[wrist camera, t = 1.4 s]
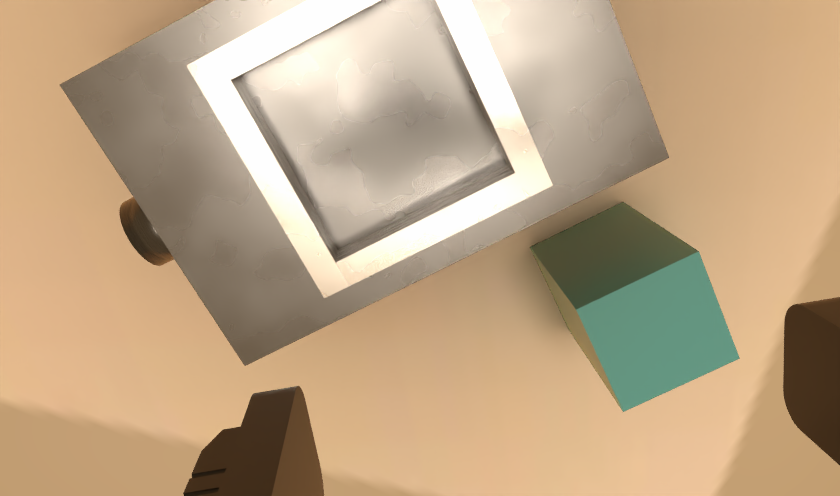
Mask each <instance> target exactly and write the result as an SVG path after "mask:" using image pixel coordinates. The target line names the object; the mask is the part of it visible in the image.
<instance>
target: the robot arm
mask: <svg viewBox="0 0 840 496" xmlns="http://www.w3.org/2000/svg"><path fill="white" fill-rule="evenodd" d="M783 388H784V390H783V391H784V399H785V403H786V406H787V409H788V412H789V414H790V416H791V418H792V420H793V421H794V423H795V424H796V426H797V427H798V428H799V429H800V430H801V431H802V432H803V433H804V434H806V435H807V436H808V437H809V438H810V439H811V440H812V441H813V442H814V443H816V444H817V445H818V446H819V447H820V448H821V449H822V450H823V451H824V452H825V453H827V454H828V455H829V456H830V457H831V458H832V459H833V460H834V461H836V462H837V463H838V464H839V465H840V297H837V298H832V299H825V300H820V301H813V302H807V303H801V304H795V305H792V306H791V307H790V308H789V309H788V311H787V313H786V316H785V326H784V385H783ZM183 494H184V496H324V490H323V480H322V473H321V468H320V463H319V459H318V454H317V450H316V446H315V441H314V437H313V432H312V428H311V424H310V419H309V415H308V410H307V406H306V402H305V398H304V394H303V392H302V389H301V388H300V387H299V386H296V387H290V388H284V389H278V390H272V391H266V392H260V393H254V394H253V395H252V397H251V399H250V402H249V405H248V408H247V411H246V413H245V416H244V419H243V422H242V425H241V427H236V428H230V429H224V430H222V431H221V432H220V433H219V434H218V435H217V436H216V437H215V438H214V439H213V440H212V441H211V442H210V443H209V444H208V445H207V446H206V447H205V448H204V449H203V450H202V451H201V454H200V456H199V458H198V461H197V463H196V465H195V468H194V470H193V472H192V478H191V479H189V482H188V484H187V486H186V489H185V491H184V493H183Z"/></svg>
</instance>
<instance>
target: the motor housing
mask: <svg viewBox="0 0 840 496" xmlns="http://www.w3.org/2000/svg"><path fill="white" fill-rule="evenodd" d="M60 86H61V87H62V89H63V91H64V92H65V94H66V95H67V97H68V98H69V100H70V101H71V103H72V104H73V106H74V107H75V109H76V110H77V112H78V113H79V115H80V116H81V118H82V119H83V121H84V122H85V124H86V125H87V127H88V128H89V130H90V132H91V133H92V135H93V136H94V138H95V139H96V141H97V142H98V144H99V145H100V147H101V148H102V150H103V151H104V153H105V154H106V156H107V157H108V159H109V160H110V162H111V163H112V165H113V166H114V168H115V169H116V171H117V173H118V174H119V176H120V177H121V179H122V180H123V182H124V183H125V185H126V186H127V188H128V189H129V191H130V192H131V194H132V195H133V198H131V199H129V200H127V201H125V202H124V203H122V205H121V207H120V219H121V223H122V226H123V229H124V231H125V233H126V235H127V237H128V239H129V241H130V242H131V244H132V245H133V247H134V248H135V249H136V250H137V252H138V253H139V254H140V255H141V256H142V257H143V258H144V259H146V260H147V261H148V262H150V263H152V264H154V265H158V266H161V265H163V264H165V263H167V262H169V261H171V260H173V259H175V261H176V262H177V264H178V265H179V267H180V268H181V270H182V271H183V273H184V274H185V276H186V277H187V279H188V280H189V282H190V283H191V285H192V286H193V288H194V289H195V291H196V292H197V294H198V296H199V297H200V299H201V300H202V302H203V303H204V305H205V306H206V308H207V309H208V311H209V312H210V314H211V315H212V317H213V318H214V320H215V321H216V323H217V324H218V326H219V327H220V329H221V330H222V332H223V333H224V335H225V337H226V338H227V340H228V341H229V343H230V344H231V346H232V347H233V349H234V350H235V352H236V353H237V355H238V356H239V358H240V359H241V361H242V362H243V364H244V365H245V366H246V365H248V364H250V363H252V362H254V361H256V360H258V359H260V358H262V357H264V356H266V355H268V354H270V353H272V352H274V351H276V350H278V349H280V348H282V347H284V346H287V345H289V344H291V343H293V342H295V341H297V340H299V339H301V338H303V337H305V336H307V335H309V334H311V333H313V332H315V331H317V330H319V329H321V328H323V327H325V326H327V325H329V324H331V323H333V322H335V321H337V320H339V319H342V318H344V317H346V316H348V315H350V314H352V313H354V312H356V311H358V310H360V309H362V308H364V307H366V306H368V305H370V304H372V303H374V302H376V301H378V300H380V299H382V298H384V297H386V296H388V295H390V294H392V293H394V292H397V291H399V290H401V289H403V288H405V287H407V286H409V285H411V284H413V283H415V282H417V281H419V280H421V279H423V278H425V277H427V276H429V275H431V274H433V273H435V272H437V271H439V270H441V269H443V268H445V267H447V266H449V265H452V264H454V263H456V262H458V261H460V260H462V259H464V258H466V257H468V256H470V255H472V254H474V253H476V252H478V251H480V250H482V249H484V248H486V247H488V246H490V245H492V244H494V243H496V242H498V241H500V240H502V239H504V238H506V237H509V236H511V235H513V234H515V233H517V232H519V231H521V230H523V229H525V228H527V227H529V226H531V225H533V224H535V223H537V222H539V221H541V220H543V219H545V218H547V217H549V216H551V215H553V214H555V213H557V212H559V211H561V210H564V209H566V208H568V207H570V206H572V205H574V204H576V203H578V202H580V201H582V200H584V199H586V198H588V197H590V196H592V195H594V194H596V193H598V192H600V191H602V190H604V189H606V188H608V187H610V186H612V185H614V184H616V183H619V182H621V181H623V180H625V179H627V178H629V177H631V176H633V175H635V174H637V173H639V172H641V171H643V170H645V169H647V168H649V167H651V166H653V165H655V164H657V163H659V162H661V161H663V160H665V159H667V158H669V156H668V153H667V151H666V148H665V146H664V143H663V140H662V138H661V135H660V132H659V130H658V127H657V124H656V122H655V119H654V116H653V114H652V111H651V109H650V106H649V103H648V101H647V98H646V95H645V93H644V90H643V87H642V85H641V82H640V80H639V77H638V74H637V72H636V69H635V66H634V64H633V61H632V58H631V56H630V53H629V50H628V48H627V45H626V43H625V40H624V37H623V35H622V32H621V29H620V27H619V24H618V21H617V19H616V16H615V14H614V11H613V8H612V6H611V3H610V0H214V1H212V2H211V3H209V4H207V5H205V6H203V7H201V8H200V9H198V10H196V11H194V12H192V13H190V14H189V15H187V16H185V17H183V18H181V19H179V20H178V21H176V22H174V23H172V24H170V25H168V26H167V27H165V28H163V29H161V30H159V31H157V32H156V33H154V34H152V35H150V36H148V37H146V38H145V39H143V40H141V41H139V42H137V43H135V44H134V45H132V46H130V47H128V48H126V49H124V50H123V51H121V52H119V53H117V54H115V55H113V56H112V57H110V58H108V59H106V60H104V61H102V62H101V63H99V64H97V65H95V66H93V67H91V68H90V69H88V70H86V71H84V72H82V73H80V74H78V75H77V76H75V77H73V78H71V79H69V80H67V81H66V82H64V83H62V84H60Z"/></svg>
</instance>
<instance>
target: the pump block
mask: <svg viewBox="0 0 840 496" xmlns="http://www.w3.org/2000/svg"><path fill="white" fill-rule="evenodd" d="M530 248H531V250H532V252H533V255H534V257H535V259H536V261H537V263H538V265H539V267H540V270H541V272H542V274H543V276H544V278H545V280H546V282H547V284H548V287H549V289H550V291H551V293H552V295H553V297H554V299H555V302H556V304H557V306H558V308H559V310H560V312H561V314H562V316H563V319H564V321H565V323H566V325H567V327H568V329H569V331H570V332H571V334H572V335H573V337H574V338H575V340H576V341H577V343H578V344H579V346H580V347H581V349H582V350H583V352H584V353H585V355H586V356H587V358H588V359H589V361H590V363H591V364H592V366H593V367H594V369H595V370H596V372H597V373H598V375H599V376H600V378H601V379H602V381H603V382H604V384H605V385H606V387H607V388H608V390H609V391H610V393H611V394H612V396H613V397H614V399H615V400H616V402H617V403H618V405H619V406H620V408H621V409H622V411H623V412H624V411H626V410H628V409H631V408H633V407H635V406H637V405H639V404H642V403H644V402H646V401H648V400H650V399H652V398H655V397H657V396H659V395H661V394H663V393H665V392H668V391H670V390H672V389H674V388H676V387H679V386H681V385H683V384H685V383H687V382H689V381H692V380H694V379H696V378H698V377H700V376H702V375H705V374H707V373H709V372H711V371H713V370H716V369H718V368H720V367H722V366H724V365H726V364H729V363H731V362H733V361H735V360H737V359H739V356H738V353H737V350H736V348H735V345H734V342H733V340H732V337H731V335H730V332H729V329H728V327H727V324H726V322H725V319H724V316H723V314H722V311H721V308H720V306H719V303H718V301H717V298H716V295H715V293H714V290H713V288H712V285H711V282H710V280H709V277H708V274H707V272H706V269H705V267H704V264H703V261H702V259H701V256H700V253H699V251H697V250H696V249H694V248H693V247H691V246H690V245H688V244H687V243H685V242H684V241H682V240H681V239H679V238H678V237H676V236H674V235H673V234H671V233H670V232H668V231H667V230H665V229H664V228H662V227H661V226H659V225H658V224H656V223H655V222H653V221H651V220H650V219H648V218H647V217H645V216H644V215H642V214H641V213H639V212H638V211H636V210H635V209H633V208H632V207H630V206H629V205H627V204H625V203H624V202H622V203H620V204H618V205H616V206H614V207H612V208H610V209H607V210H605V211H603V212H601V213H599V214H597V215H595V216H593V217H591V218H589V219H587V220H585V221H583V222H581V223H579V224H577V225H575V226H573V227H571V228H569V229H567V230H564V231H562V232H560V233H558V234H556V235H554V236H552V237H550V238H548V239H546V240H544V241H542V242H540V243H538V244H536V245H534V246H532V247H530Z"/></svg>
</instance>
